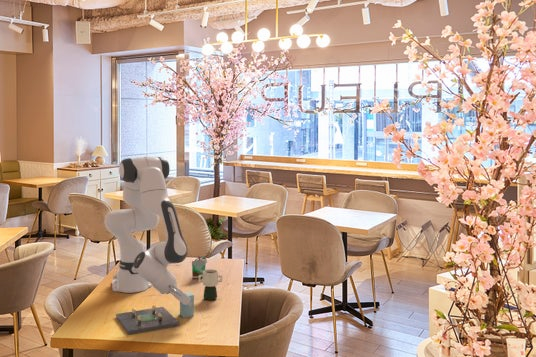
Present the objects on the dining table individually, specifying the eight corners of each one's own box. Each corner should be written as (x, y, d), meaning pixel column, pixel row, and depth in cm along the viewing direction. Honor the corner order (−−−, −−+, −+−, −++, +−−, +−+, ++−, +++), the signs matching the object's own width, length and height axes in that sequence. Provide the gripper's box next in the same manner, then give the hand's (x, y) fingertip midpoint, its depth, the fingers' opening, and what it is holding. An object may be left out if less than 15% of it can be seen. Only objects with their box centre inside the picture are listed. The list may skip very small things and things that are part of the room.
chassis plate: (116, 317, 216) (115, 306, 215) (163, 310, 225) (163, 299, 225) (128, 334, 198) (128, 323, 198) (178, 325, 208) (179, 314, 207)
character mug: (222, 296, 245) (222, 269, 244) (221, 301, 238) (222, 273, 237) (199, 296, 245) (199, 269, 243) (197, 301, 237) (198, 273, 236)
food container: (203, 281, 269) (203, 261, 268) (191, 280, 270) (191, 261, 269) (209, 274, 281) (209, 256, 280) (198, 273, 282) (198, 255, 281)
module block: (179, 314, 221) (179, 293, 220) (189, 312, 223) (190, 292, 222) (183, 317, 217) (183, 296, 216) (193, 316, 219) (193, 295, 218)
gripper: (179, 283, 206) (202, 304, 212) (163, 270, 224) (184, 289, 229) (168, 296, 204) (192, 316, 210) (153, 282, 222) (175, 301, 228)
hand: (188, 302), depth 220 cm, fingers closed on module block, 4 cm apart
